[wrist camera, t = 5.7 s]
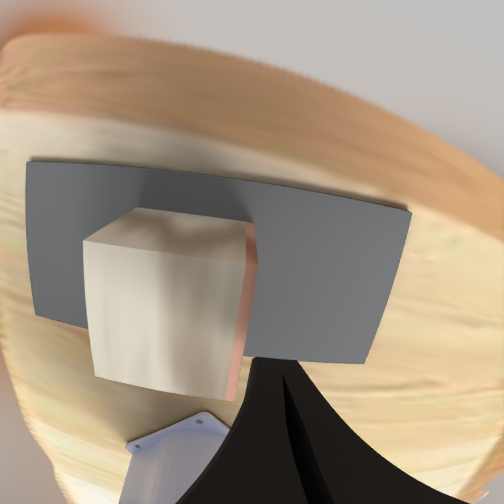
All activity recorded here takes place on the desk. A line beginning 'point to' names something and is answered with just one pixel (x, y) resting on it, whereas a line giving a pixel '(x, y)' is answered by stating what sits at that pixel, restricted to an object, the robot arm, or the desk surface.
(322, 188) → the desk surface
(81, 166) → the rubber mat
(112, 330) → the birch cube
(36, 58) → the desk surface
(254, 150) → the desk surface
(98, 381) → the desk surface
